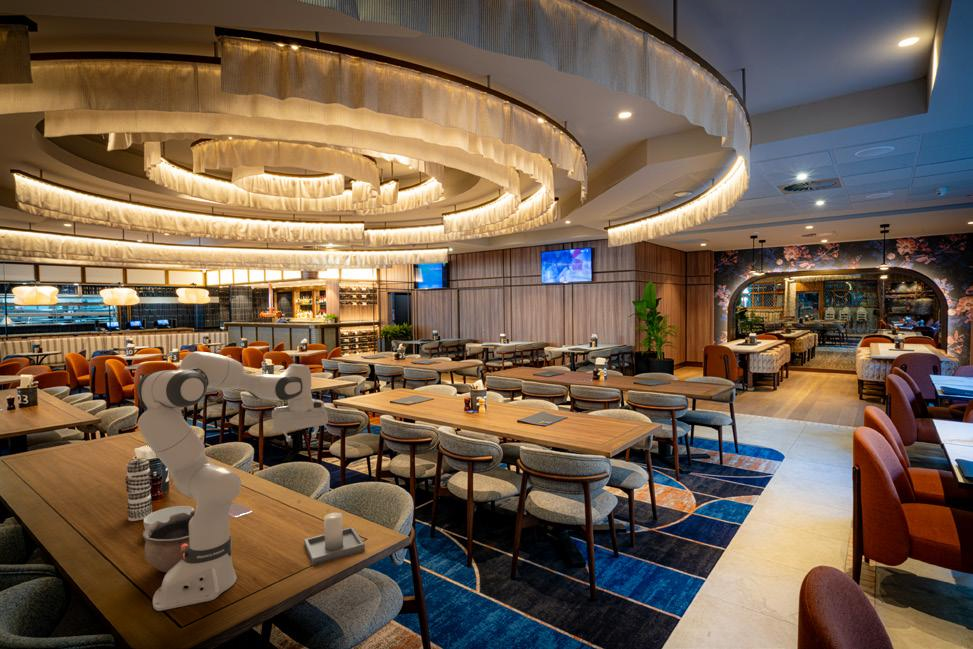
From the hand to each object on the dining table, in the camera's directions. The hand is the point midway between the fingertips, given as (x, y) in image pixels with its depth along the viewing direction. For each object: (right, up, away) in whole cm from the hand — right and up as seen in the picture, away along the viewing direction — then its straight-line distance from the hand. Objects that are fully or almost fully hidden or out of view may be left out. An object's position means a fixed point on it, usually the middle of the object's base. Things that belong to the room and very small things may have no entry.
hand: (301, 439), depth 183 cm
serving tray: (+17, -37, -12) cm, 43 cm away
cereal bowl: (-55, -38, +4) cm, 67 cm away
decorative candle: (-77, -38, +18) cm, 88 cm away
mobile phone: (-38, -38, +22) cm, 58 cm away
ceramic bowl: (-32, -39, -22) cm, 55 cm away
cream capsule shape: (+17, -36, -12) cm, 42 cm away
